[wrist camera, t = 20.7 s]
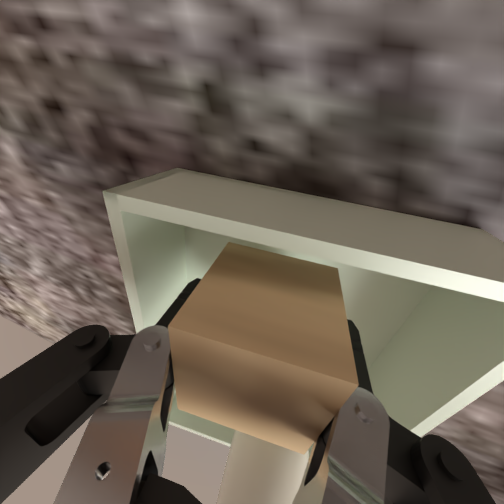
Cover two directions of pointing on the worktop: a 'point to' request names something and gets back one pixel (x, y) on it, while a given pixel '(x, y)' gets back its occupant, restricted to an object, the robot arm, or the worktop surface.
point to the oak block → (264, 347)
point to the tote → (351, 278)
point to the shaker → (260, 472)
